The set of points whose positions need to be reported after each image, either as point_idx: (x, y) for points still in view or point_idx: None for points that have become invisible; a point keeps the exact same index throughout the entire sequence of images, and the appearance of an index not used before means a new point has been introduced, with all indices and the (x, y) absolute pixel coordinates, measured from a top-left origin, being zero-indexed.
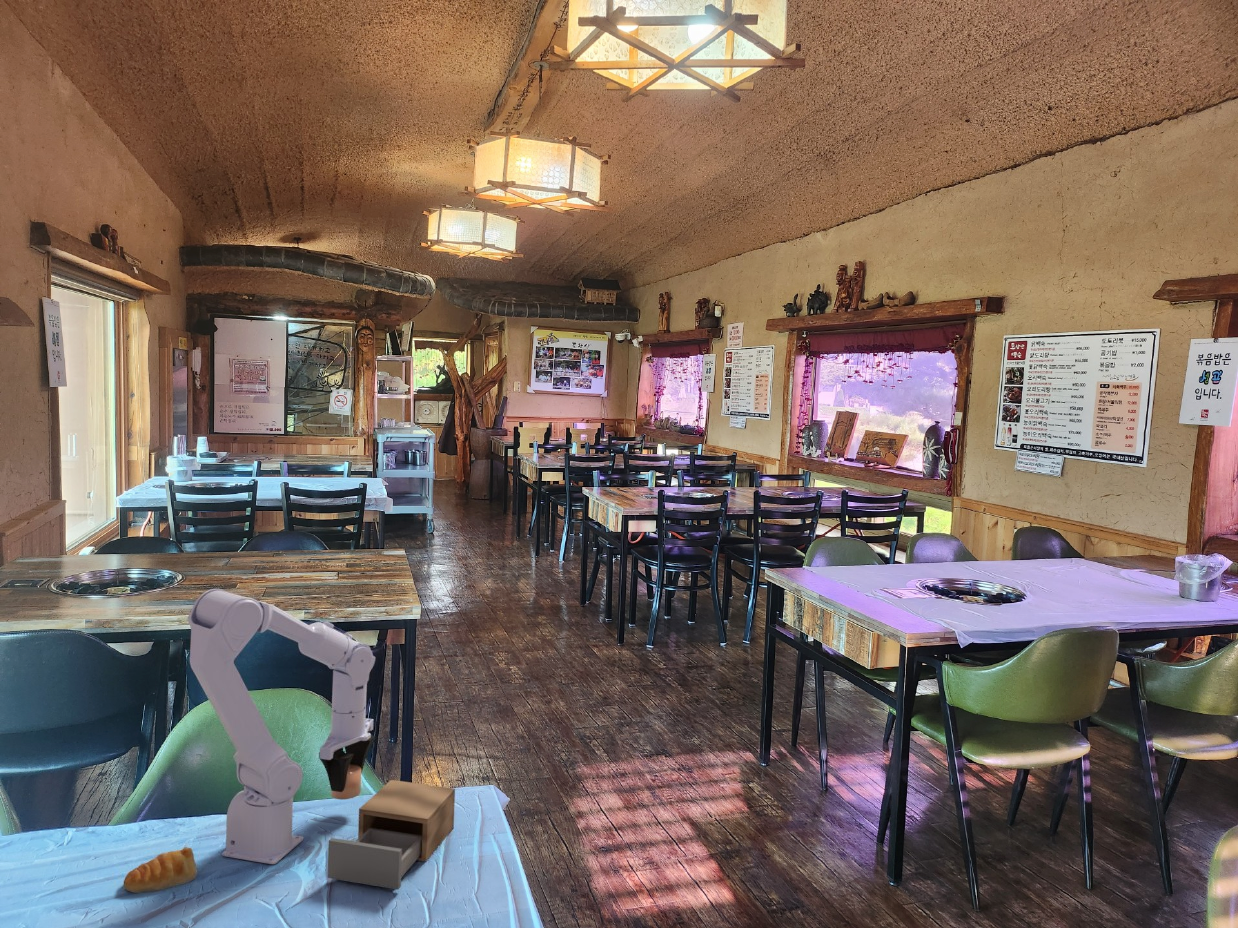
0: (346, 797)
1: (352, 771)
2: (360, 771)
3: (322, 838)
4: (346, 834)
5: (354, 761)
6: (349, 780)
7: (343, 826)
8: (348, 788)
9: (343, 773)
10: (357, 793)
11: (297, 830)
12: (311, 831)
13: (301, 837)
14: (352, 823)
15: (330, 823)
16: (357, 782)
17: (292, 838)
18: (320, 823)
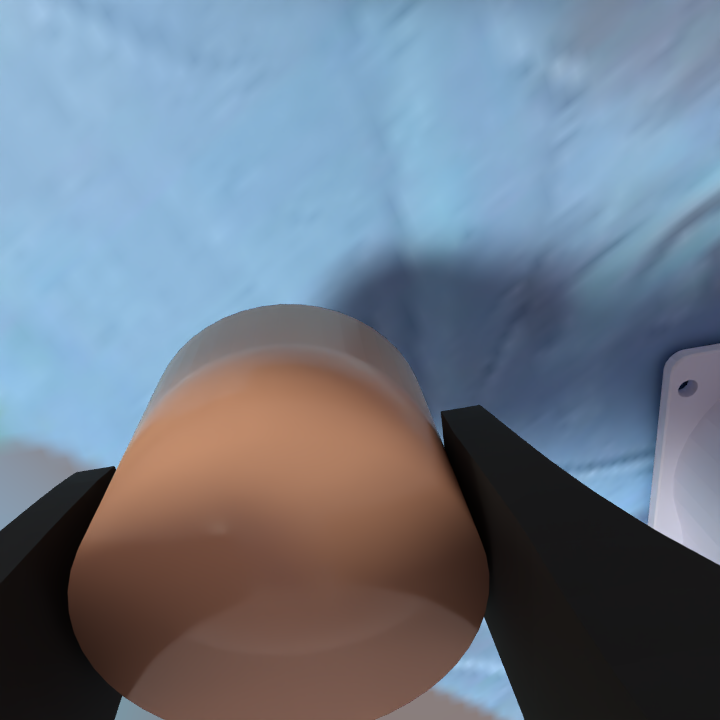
0: (397, 356)
1: (263, 542)
2: (198, 452)
3: (615, 266)
4: (523, 149)
5: (50, 694)
6: (411, 439)
7: (432, 248)
8: (401, 389)
9: (667, 540)
10: (287, 312)
11: (565, 452)
12: (554, 382)
13: (682, 367)
14: (370, 219)
15: (429, 351)
16: (290, 369)
17: (705, 401)
18: (452, 401)
